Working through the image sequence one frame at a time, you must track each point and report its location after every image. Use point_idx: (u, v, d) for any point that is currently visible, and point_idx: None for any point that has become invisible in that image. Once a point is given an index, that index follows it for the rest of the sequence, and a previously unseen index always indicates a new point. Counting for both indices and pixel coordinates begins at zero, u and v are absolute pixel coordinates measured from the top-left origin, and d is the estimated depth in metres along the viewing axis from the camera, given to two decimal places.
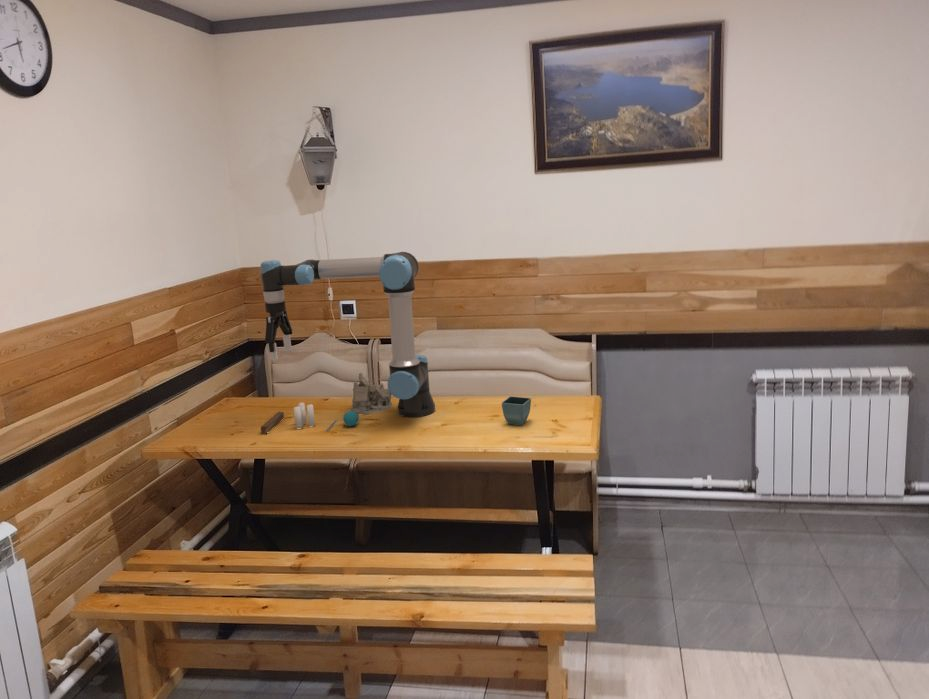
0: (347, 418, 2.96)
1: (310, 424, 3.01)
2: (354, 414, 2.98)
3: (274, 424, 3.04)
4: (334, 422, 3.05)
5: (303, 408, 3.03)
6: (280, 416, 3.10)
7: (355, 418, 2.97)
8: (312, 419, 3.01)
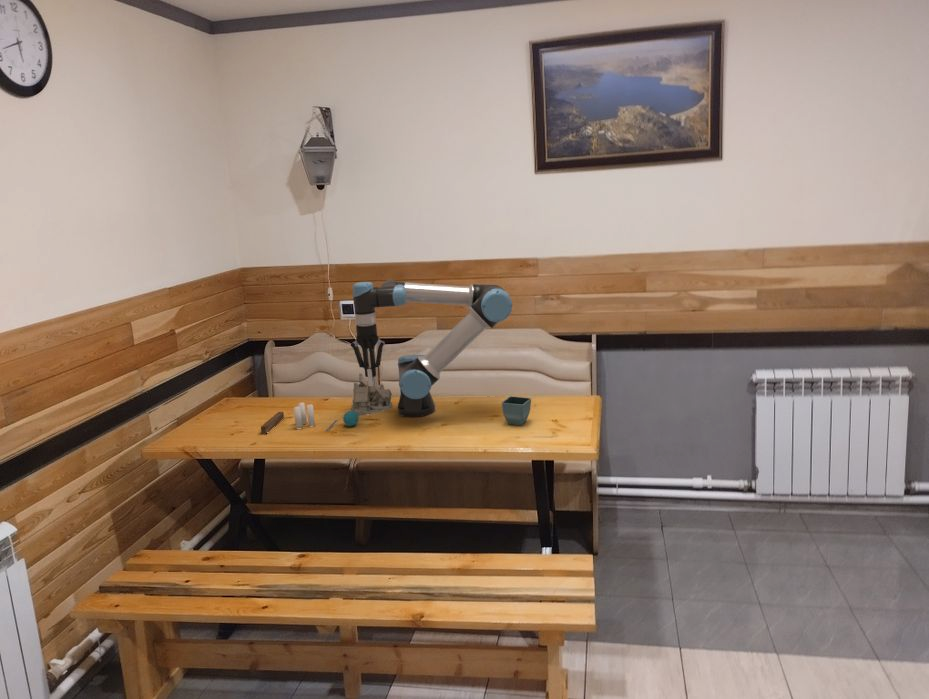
0: (347, 418, 2.96)
1: (310, 424, 3.01)
2: (354, 414, 2.98)
3: (274, 424, 3.04)
4: (334, 422, 3.05)
5: (303, 408, 3.03)
6: (280, 416, 3.10)
7: (355, 418, 2.97)
8: (312, 419, 3.01)
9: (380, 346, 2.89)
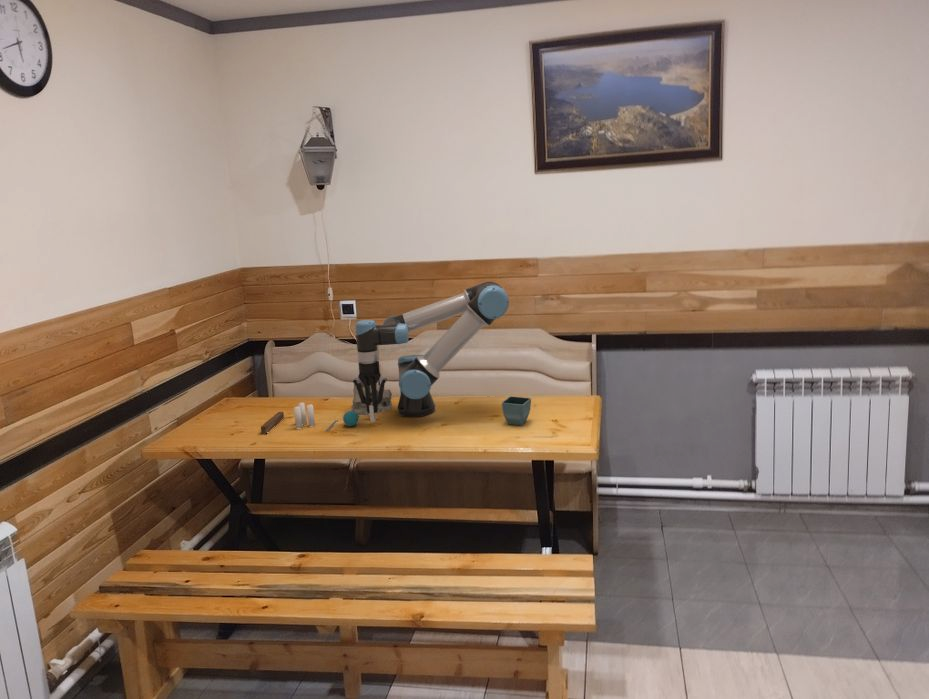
0: (347, 418, 2.96)
1: (310, 424, 3.01)
2: (354, 414, 2.98)
3: (274, 424, 3.04)
4: (334, 422, 3.05)
5: (303, 408, 3.03)
6: (280, 416, 3.10)
7: (355, 418, 2.97)
8: (312, 419, 3.01)
9: (382, 383, 2.93)
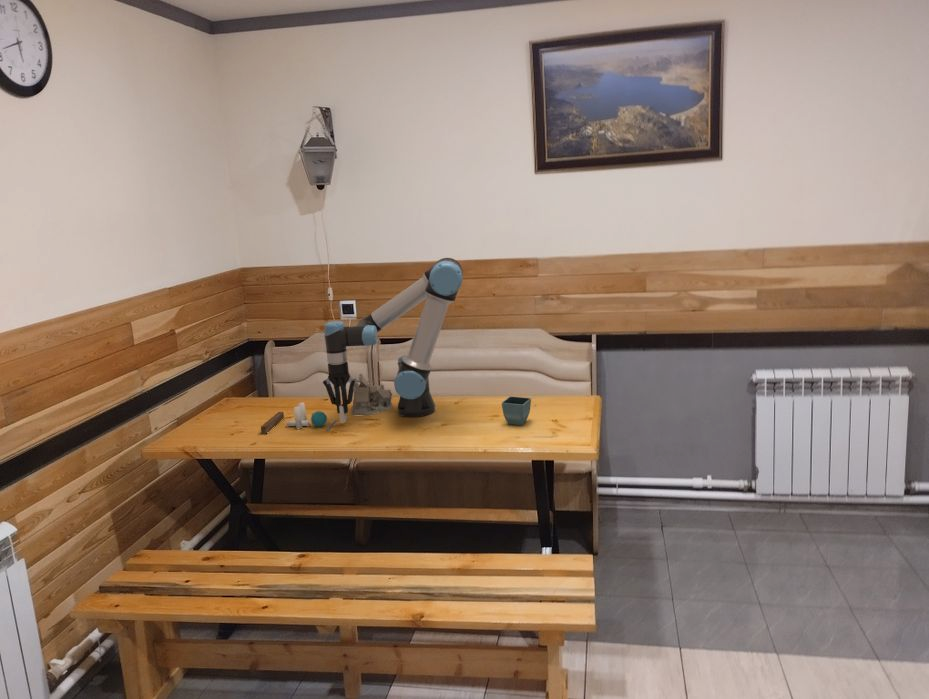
0: (319, 421, 2.98)
1: (304, 424, 3.02)
2: (319, 426, 3.01)
3: (274, 424, 3.04)
4: (334, 422, 3.05)
5: (303, 408, 3.03)
6: (280, 416, 3.10)
7: (315, 425, 3.00)
8: None
9: (351, 384, 2.95)
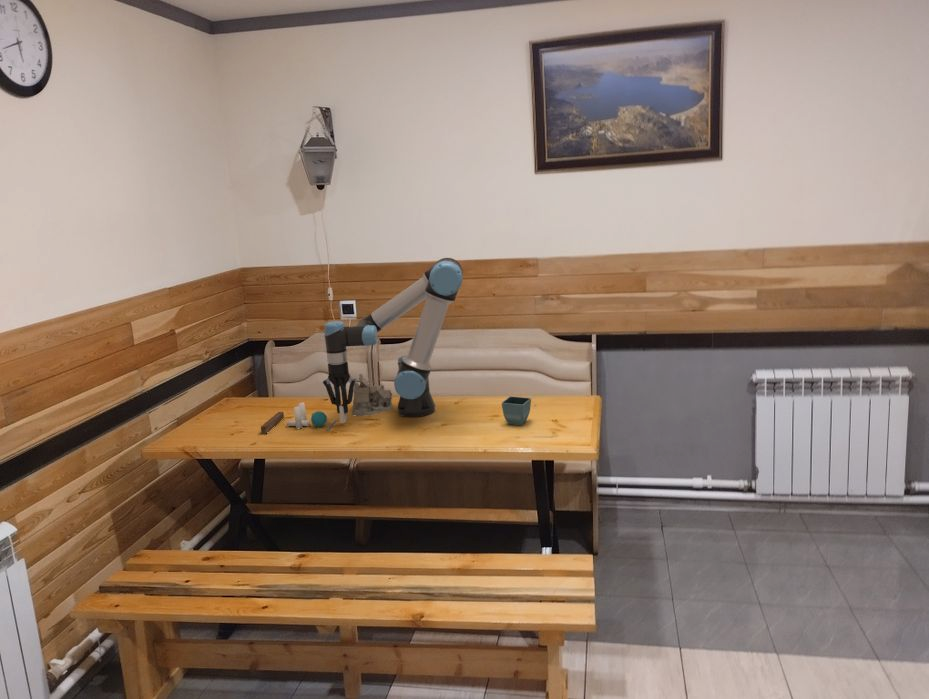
0: (319, 421, 2.98)
1: (304, 424, 3.02)
2: (319, 426, 3.01)
3: (274, 424, 3.04)
4: (334, 422, 3.05)
5: (303, 408, 3.03)
6: (280, 416, 3.10)
7: (315, 425, 3.00)
8: None
9: (351, 384, 2.95)
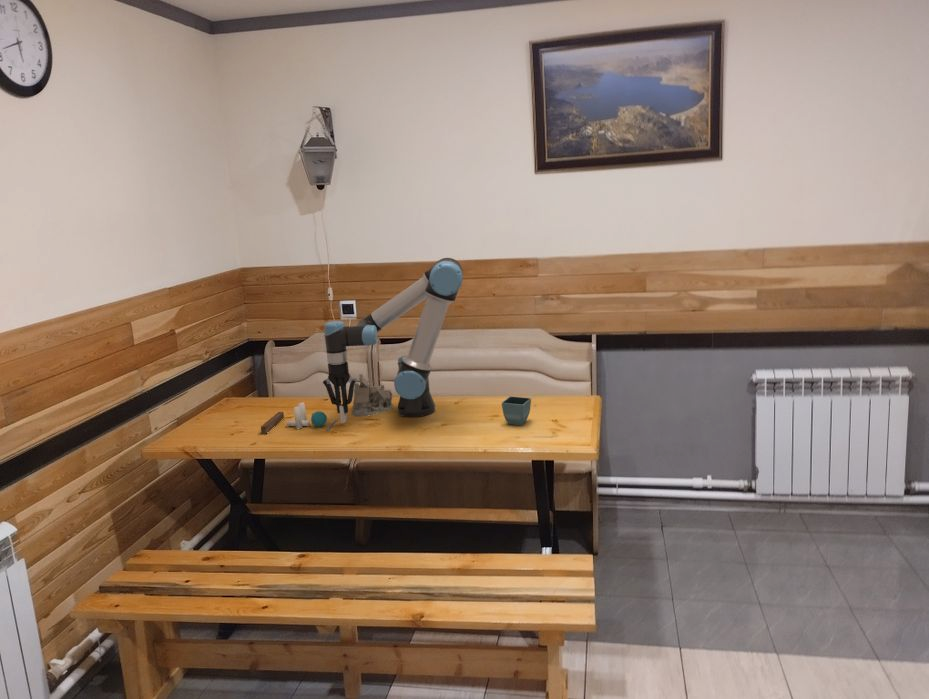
0: (319, 421, 2.98)
1: (304, 424, 3.02)
2: (319, 426, 3.01)
3: (274, 424, 3.04)
4: (334, 422, 3.05)
5: (303, 408, 3.03)
6: (280, 416, 3.10)
7: (315, 425, 3.00)
8: None
9: (351, 384, 2.95)
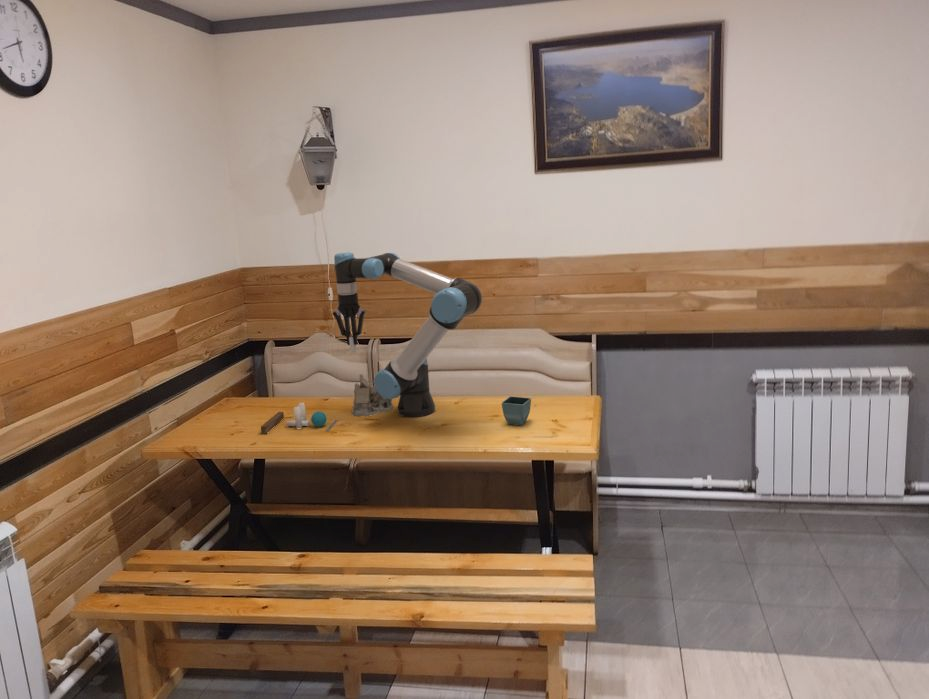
0: (319, 421, 2.98)
1: (304, 425, 3.02)
2: (319, 426, 3.01)
3: (274, 424, 3.04)
4: (334, 422, 3.05)
5: (303, 408, 3.03)
6: (280, 416, 3.10)
7: (315, 425, 3.00)
8: None
9: (361, 314, 2.99)
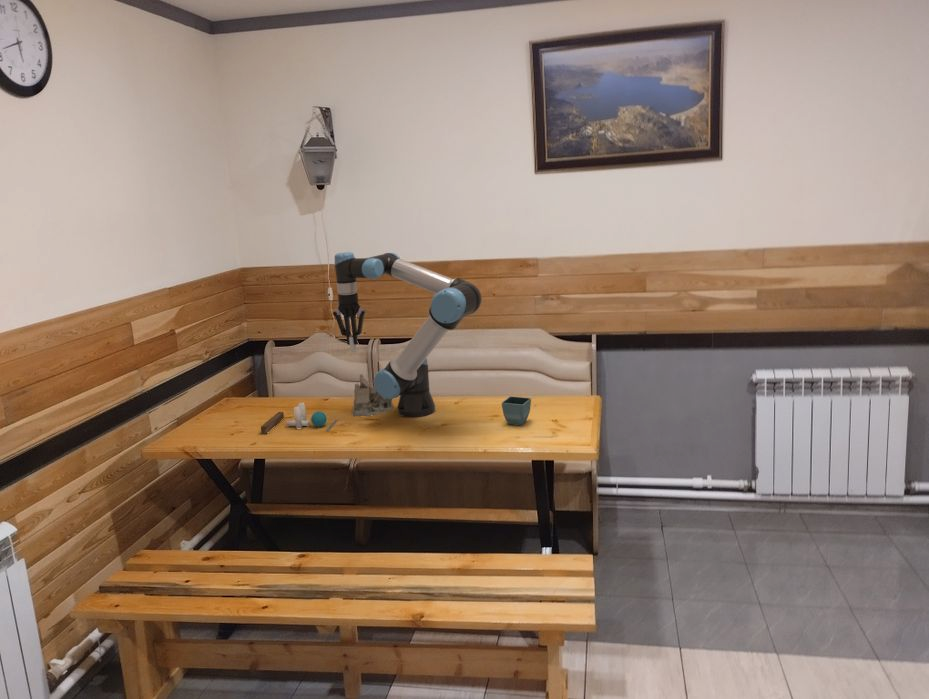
0: (319, 421, 2.98)
1: (304, 425, 3.02)
2: (319, 426, 3.01)
3: (274, 424, 3.04)
4: (334, 422, 3.05)
5: (303, 408, 3.03)
6: (280, 416, 3.10)
7: (315, 425, 3.00)
8: None
9: (361, 314, 2.99)
